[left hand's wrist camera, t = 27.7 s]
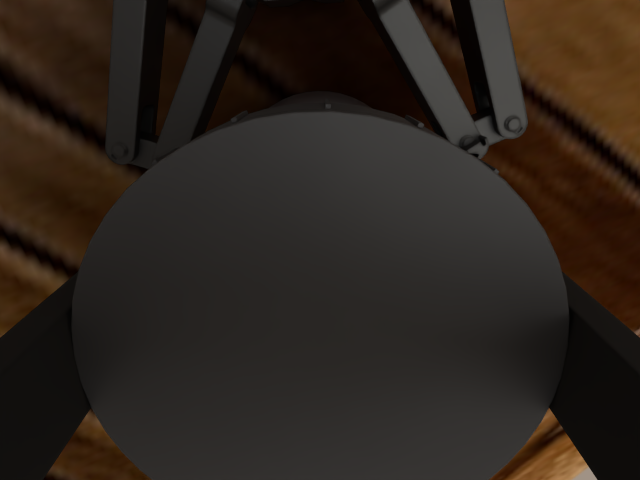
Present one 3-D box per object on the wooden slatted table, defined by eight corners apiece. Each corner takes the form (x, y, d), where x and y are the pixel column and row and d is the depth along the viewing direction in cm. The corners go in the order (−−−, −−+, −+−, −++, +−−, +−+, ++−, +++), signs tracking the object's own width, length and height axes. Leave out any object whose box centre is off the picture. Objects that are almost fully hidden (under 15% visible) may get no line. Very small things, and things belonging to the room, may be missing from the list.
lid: (518, 45, 10) (567, 41, 8) (542, 439, 14) (579, 501, 12) (36, 159, 11) (-27, 180, 9) (189, 498, 15) (170, 564, 13)
